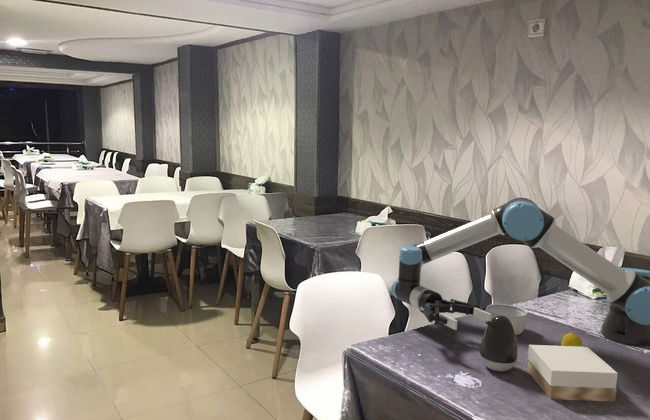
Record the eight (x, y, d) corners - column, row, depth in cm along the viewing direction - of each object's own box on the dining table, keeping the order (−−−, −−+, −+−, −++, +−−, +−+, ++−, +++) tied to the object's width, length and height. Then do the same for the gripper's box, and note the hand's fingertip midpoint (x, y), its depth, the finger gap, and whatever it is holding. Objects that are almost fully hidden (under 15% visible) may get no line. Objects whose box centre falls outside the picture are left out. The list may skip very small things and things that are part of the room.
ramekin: (517, 323, 183) (518, 303, 182) (532, 337, 170) (534, 317, 169) (479, 322, 183) (481, 303, 182) (492, 336, 170) (494, 316, 169)
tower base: (584, 373, 146) (586, 360, 145) (614, 403, 130) (616, 388, 129) (526, 371, 146) (528, 358, 145) (550, 400, 130) (551, 385, 130)
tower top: (585, 360, 145) (587, 346, 144) (615, 388, 129) (617, 373, 129) (527, 358, 145) (528, 344, 145) (550, 385, 130) (552, 370, 129)
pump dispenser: (470, 363, 149) (474, 311, 147) (498, 357, 154) (502, 307, 151) (495, 378, 140) (499, 324, 138) (524, 372, 144) (529, 319, 142)
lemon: (572, 363, 151) (574, 337, 150) (555, 356, 156) (558, 330, 155) (584, 360, 153) (587, 334, 152) (568, 353, 158) (570, 328, 157)
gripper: (454, 306, 179) (502, 327, 161) (395, 316, 167) (440, 340, 149) (455, 285, 178) (504, 304, 159) (396, 293, 166) (442, 315, 147)
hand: (473, 321), depth 154 cm, fingers open, 13 cm apart
